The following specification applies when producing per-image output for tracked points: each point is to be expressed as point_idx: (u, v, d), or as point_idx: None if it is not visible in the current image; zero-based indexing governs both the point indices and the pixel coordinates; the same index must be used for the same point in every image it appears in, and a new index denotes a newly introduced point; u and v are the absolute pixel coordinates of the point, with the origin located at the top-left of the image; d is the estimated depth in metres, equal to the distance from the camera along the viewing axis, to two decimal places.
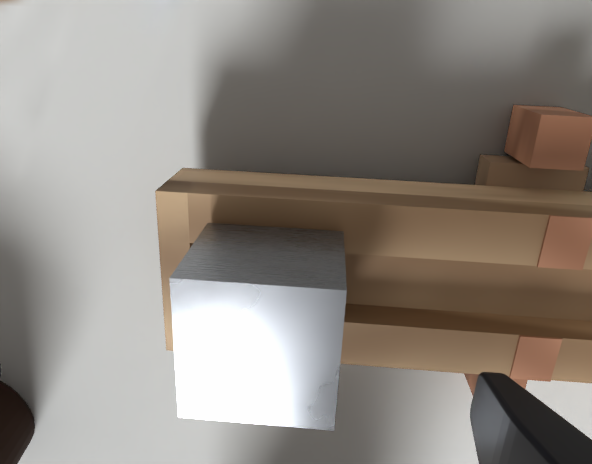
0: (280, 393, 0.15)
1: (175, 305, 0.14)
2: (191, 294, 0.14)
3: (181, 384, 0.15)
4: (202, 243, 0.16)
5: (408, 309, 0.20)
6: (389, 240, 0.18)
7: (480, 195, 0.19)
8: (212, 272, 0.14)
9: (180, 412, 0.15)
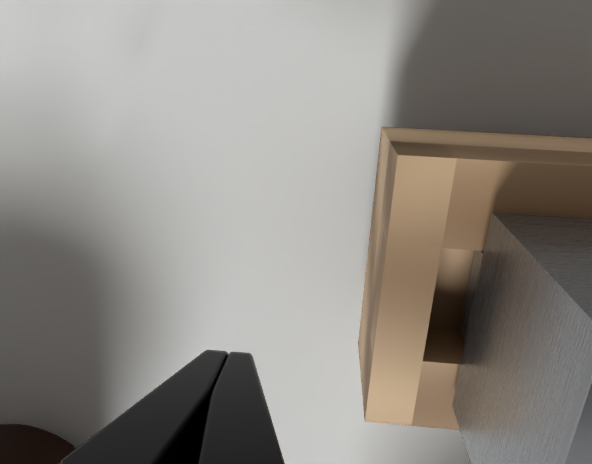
0: None
1: None
2: None
3: None
4: (545, 251, 0.08)
5: None
6: None
7: None
8: None
9: None
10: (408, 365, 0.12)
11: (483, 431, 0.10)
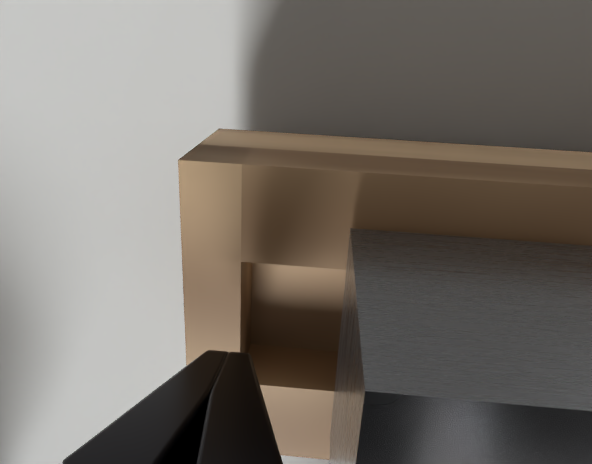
0: None
1: (367, 458, 0.05)
2: (421, 434, 0.05)
3: None
4: (374, 276, 0.07)
5: None
6: None
7: None
8: (463, 366, 0.05)
9: None
10: None
11: None
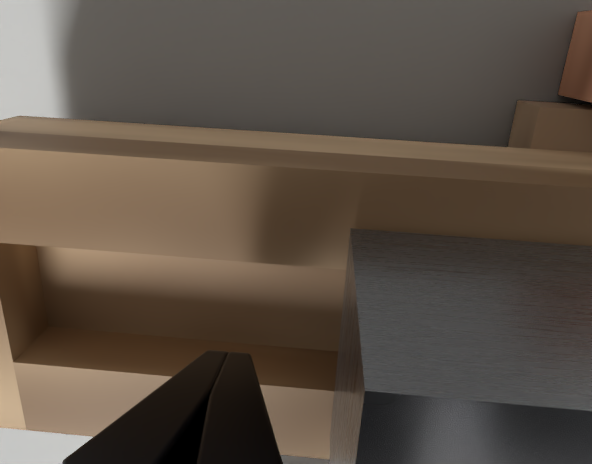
0: None
1: (367, 457, 0.05)
2: (420, 434, 0.05)
3: None
4: (374, 276, 0.07)
5: None
6: None
7: (526, 161, 0.11)
8: (463, 366, 0.05)
9: None
10: (0, 366, 0.11)
11: None
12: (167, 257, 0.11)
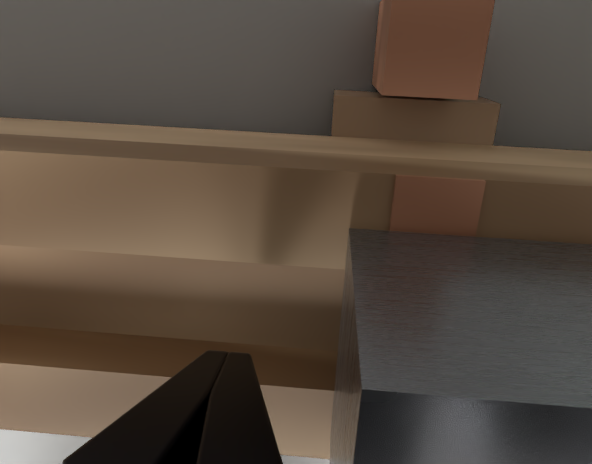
0: None
1: (365, 456, 0.05)
2: (417, 433, 0.05)
3: None
4: (372, 276, 0.07)
5: (201, 343, 0.12)
6: (112, 224, 0.10)
7: (301, 147, 0.11)
8: (460, 365, 0.05)
9: None
10: None
11: None
12: None
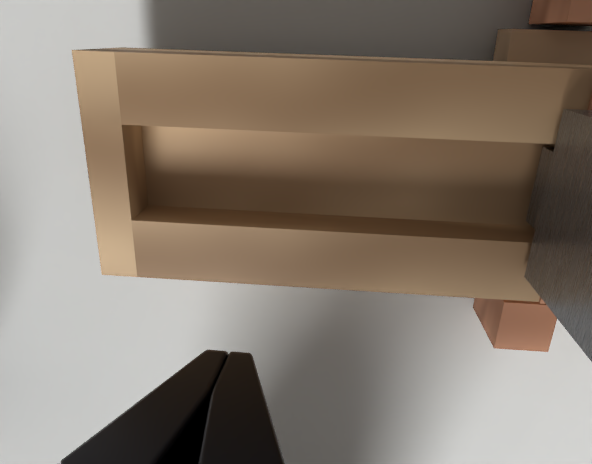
0: None
1: None
2: None
3: None
4: None
5: (408, 220, 0.16)
6: (382, 113, 0.14)
7: (501, 63, 0.15)
8: None
9: None
10: (122, 224, 0.15)
11: (560, 274, 0.12)
12: (240, 144, 0.16)
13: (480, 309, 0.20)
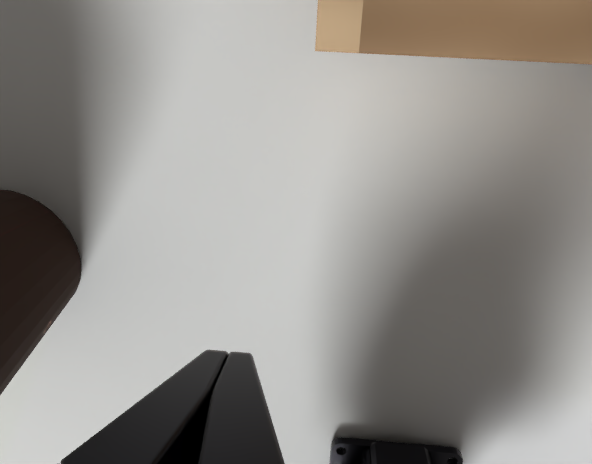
0: None
1: None
2: None
3: None
4: None
5: None
6: None
7: None
8: None
9: None
10: None
11: None
12: None
13: None
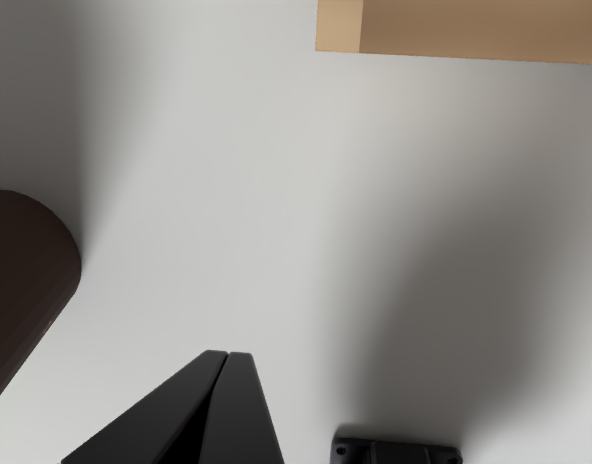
0: None
1: None
2: None
3: None
4: None
5: None
6: None
7: None
8: None
9: None
10: None
11: None
12: None
13: None
